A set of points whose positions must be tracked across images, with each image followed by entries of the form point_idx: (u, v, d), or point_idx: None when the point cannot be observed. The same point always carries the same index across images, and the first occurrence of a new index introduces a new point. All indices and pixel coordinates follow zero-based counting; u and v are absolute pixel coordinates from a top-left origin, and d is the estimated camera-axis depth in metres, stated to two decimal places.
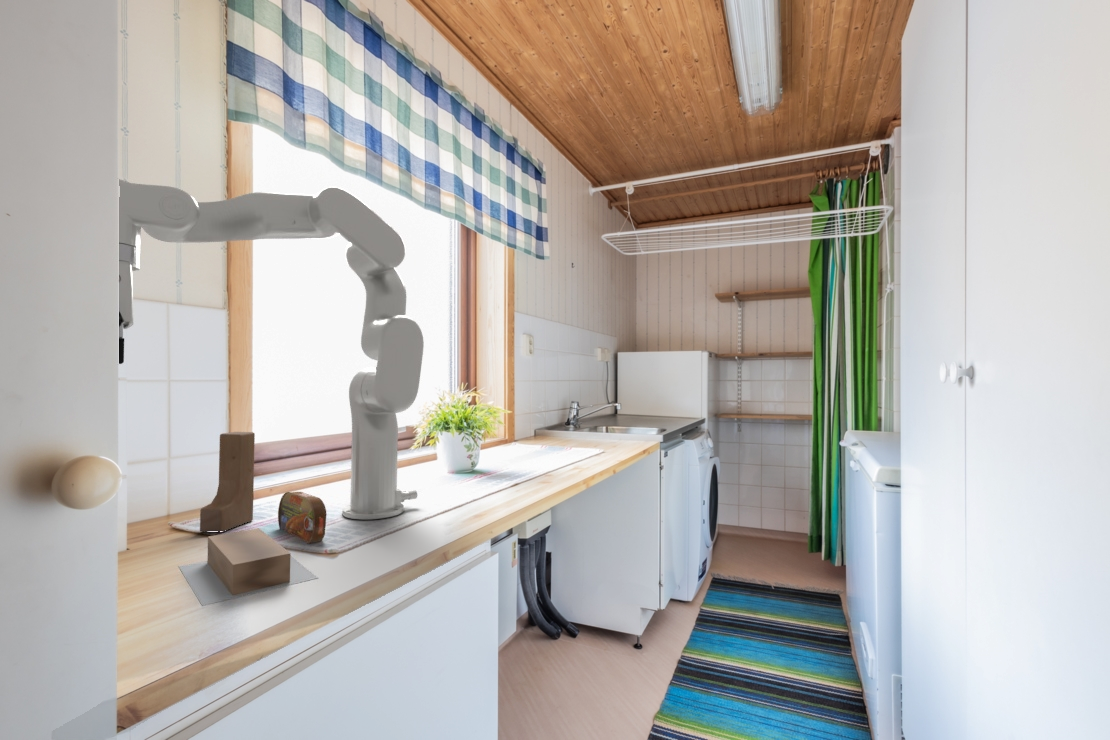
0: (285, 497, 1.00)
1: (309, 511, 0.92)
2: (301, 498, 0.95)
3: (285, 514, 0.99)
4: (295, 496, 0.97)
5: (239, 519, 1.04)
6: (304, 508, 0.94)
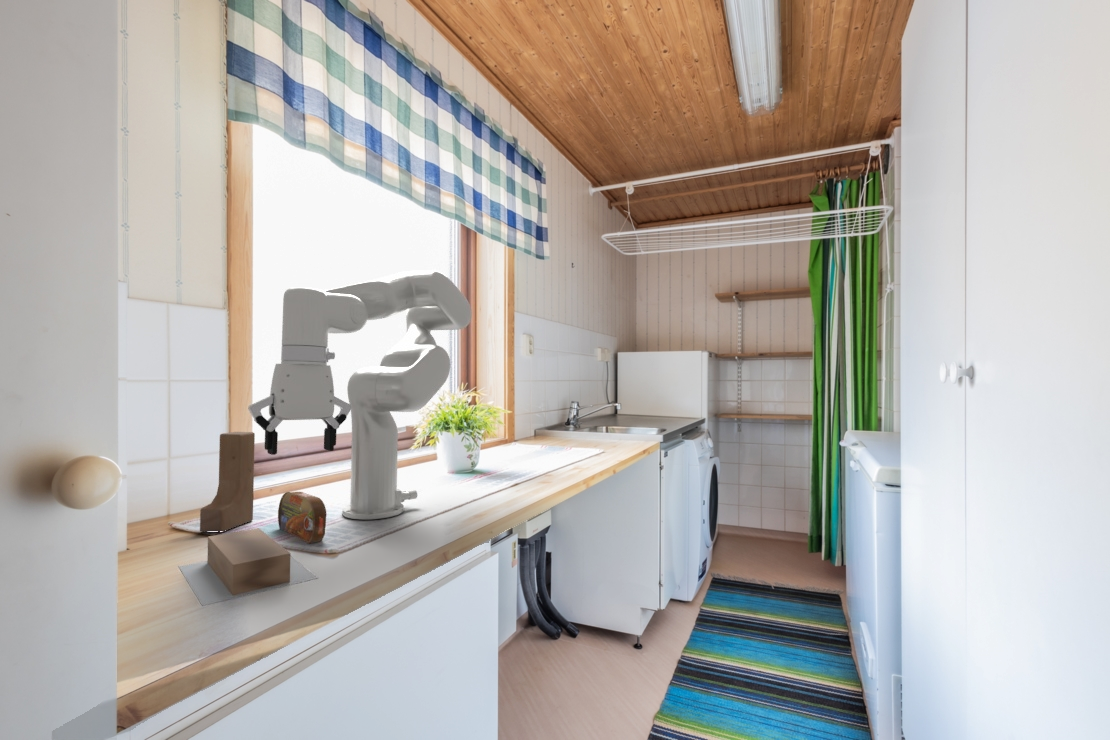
0: (285, 497, 1.00)
1: (309, 511, 0.92)
2: (301, 498, 0.95)
3: (285, 514, 0.99)
4: (295, 496, 0.97)
5: (239, 519, 1.04)
6: (304, 508, 0.94)
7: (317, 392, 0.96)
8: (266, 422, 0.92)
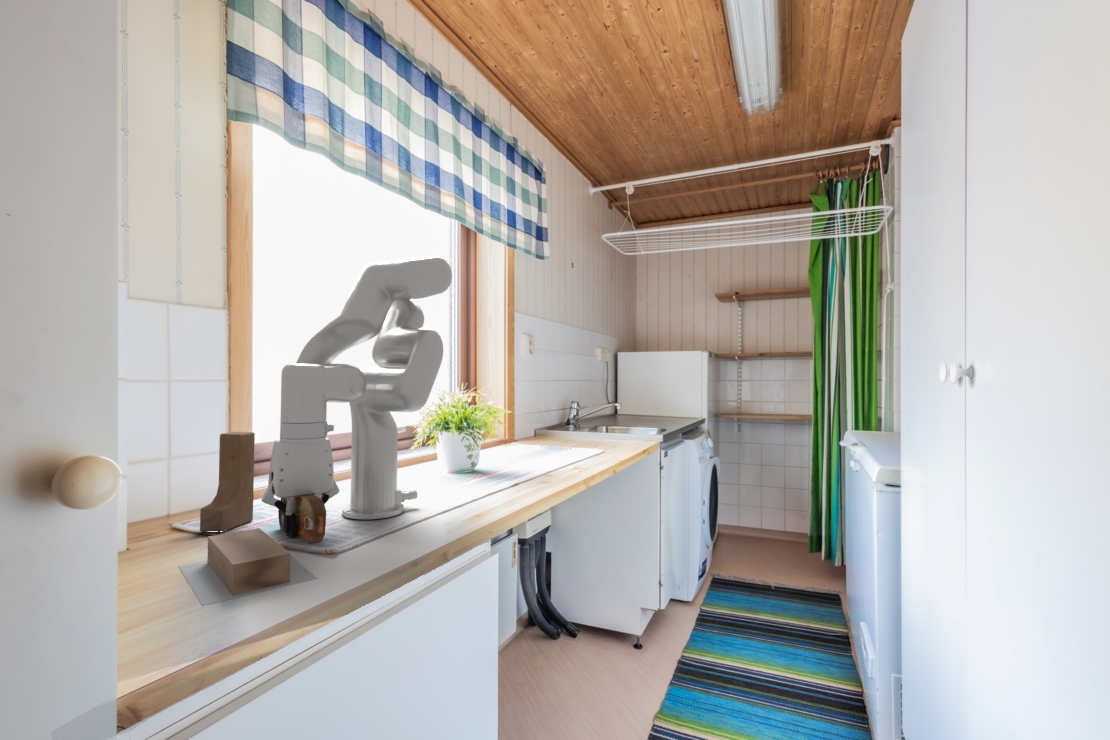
0: None
1: (309, 511, 0.92)
2: (300, 498, 0.95)
3: None
4: None
5: (239, 519, 1.04)
6: (304, 507, 0.94)
7: (316, 468, 0.96)
8: (282, 509, 0.93)
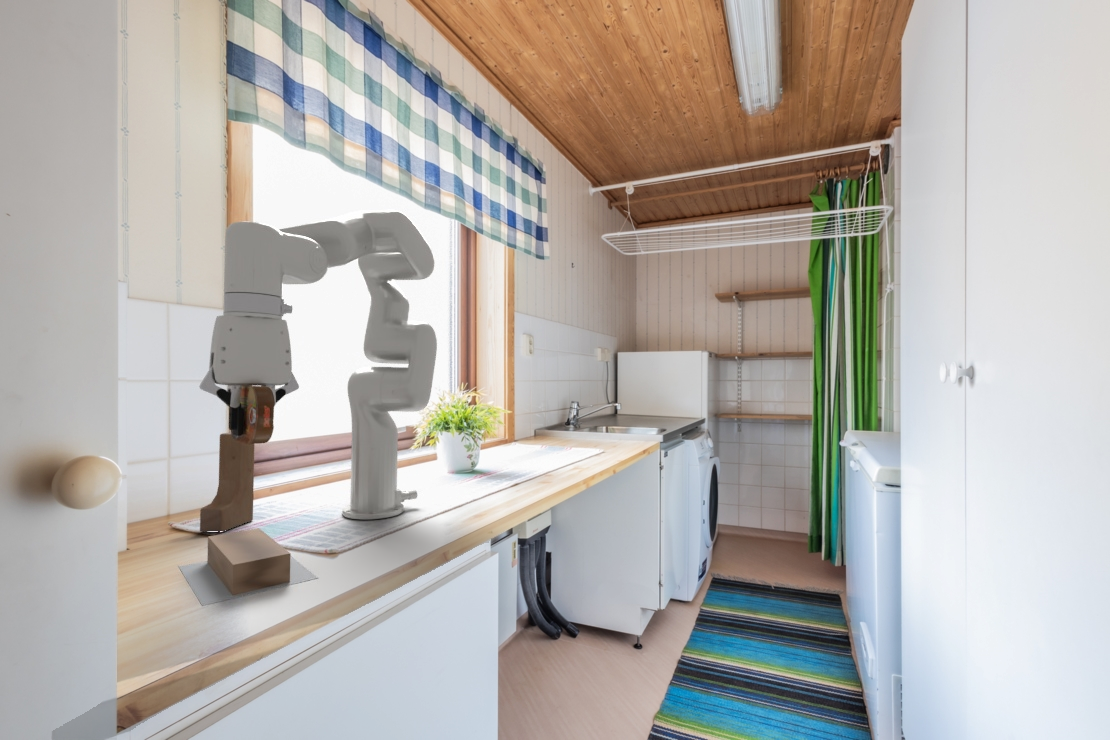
0: None
1: (254, 400, 0.74)
2: (248, 388, 0.77)
3: None
4: (243, 388, 0.79)
5: (239, 519, 1.04)
6: (250, 398, 0.76)
7: (269, 352, 0.78)
8: (226, 400, 0.76)
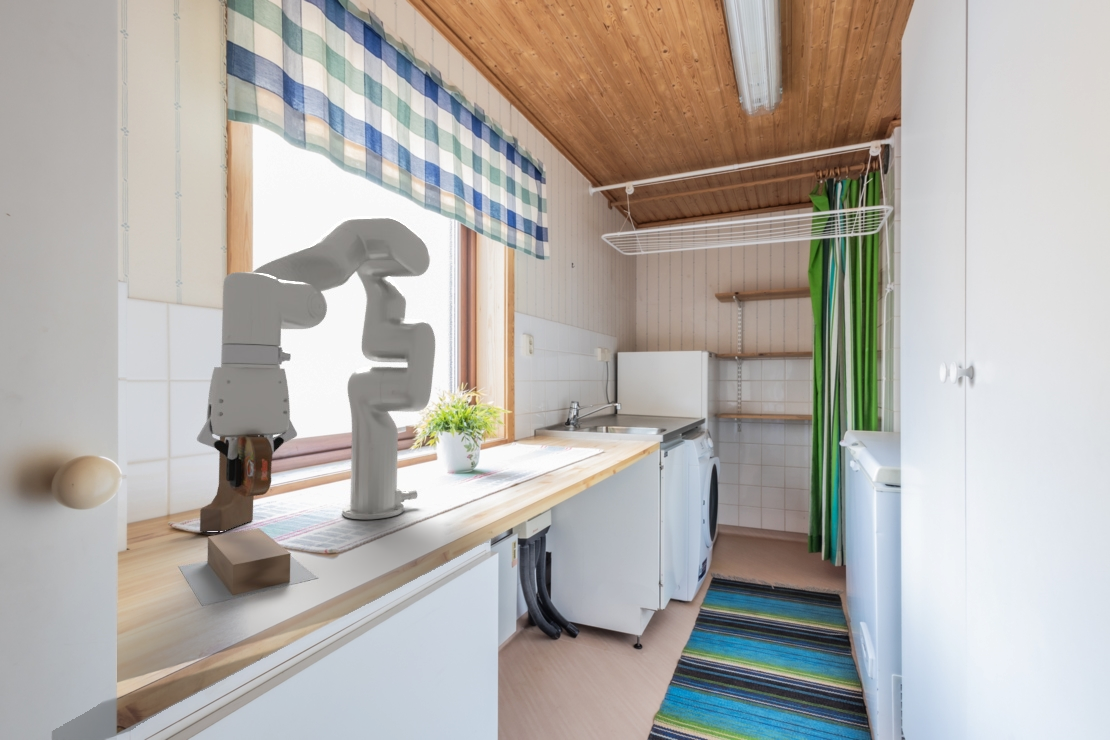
0: None
1: (252, 453, 0.74)
2: (245, 439, 0.77)
3: None
4: (241, 438, 0.79)
5: (239, 519, 1.04)
6: (247, 450, 0.75)
7: (267, 402, 0.77)
8: (223, 452, 0.75)
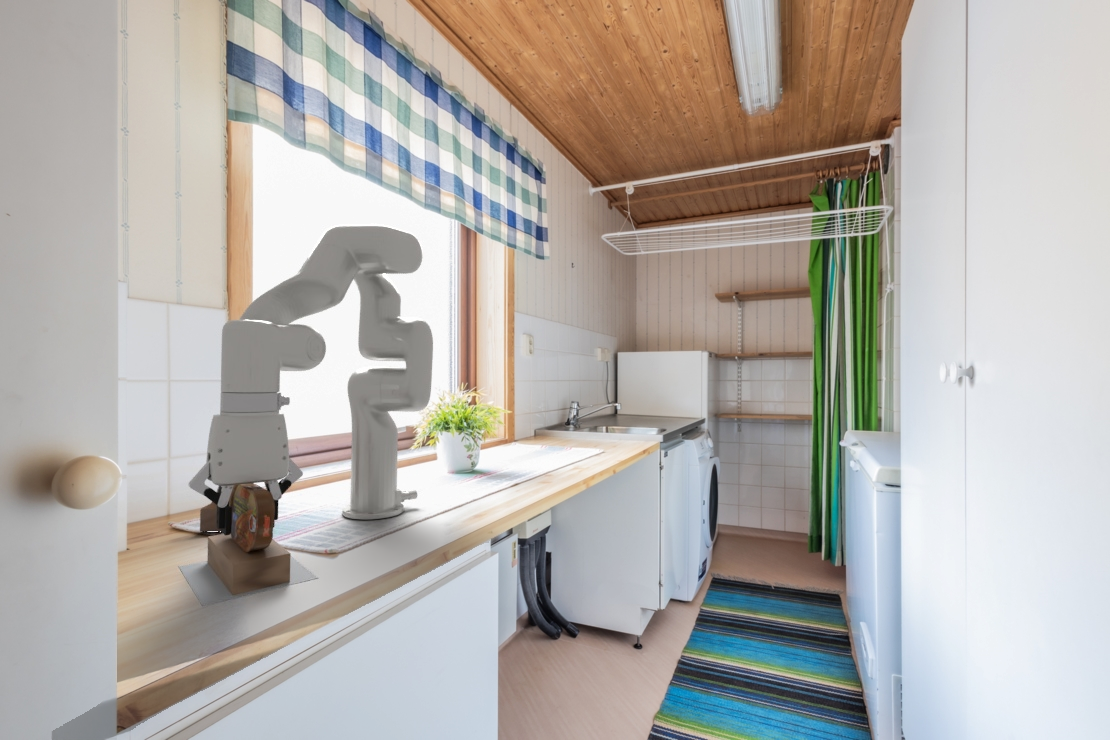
0: (237, 490, 0.82)
1: (255, 508, 0.74)
2: (249, 491, 0.77)
3: (236, 511, 0.81)
4: (244, 489, 0.79)
5: None
6: (250, 504, 0.76)
7: (266, 449, 0.77)
8: (214, 498, 0.74)
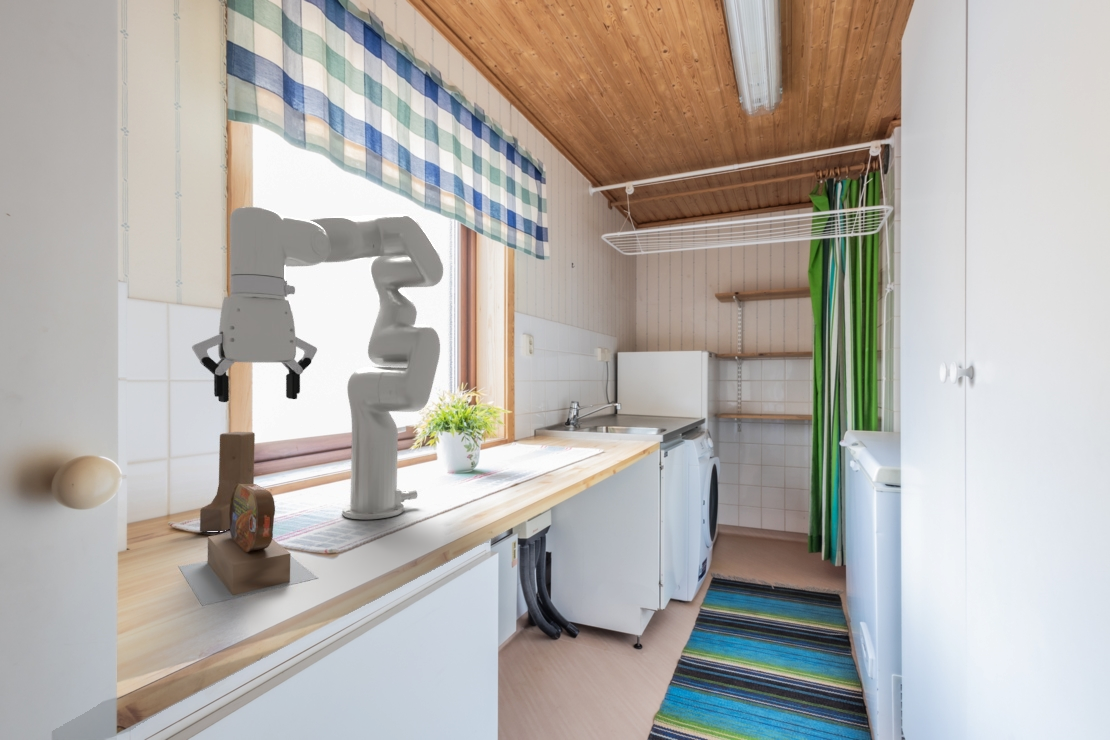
0: (237, 490, 0.82)
1: (254, 508, 0.74)
2: (249, 492, 0.77)
3: (235, 511, 0.81)
4: (244, 489, 0.79)
5: None
6: (250, 504, 0.76)
7: (274, 331, 0.83)
8: (214, 364, 0.79)
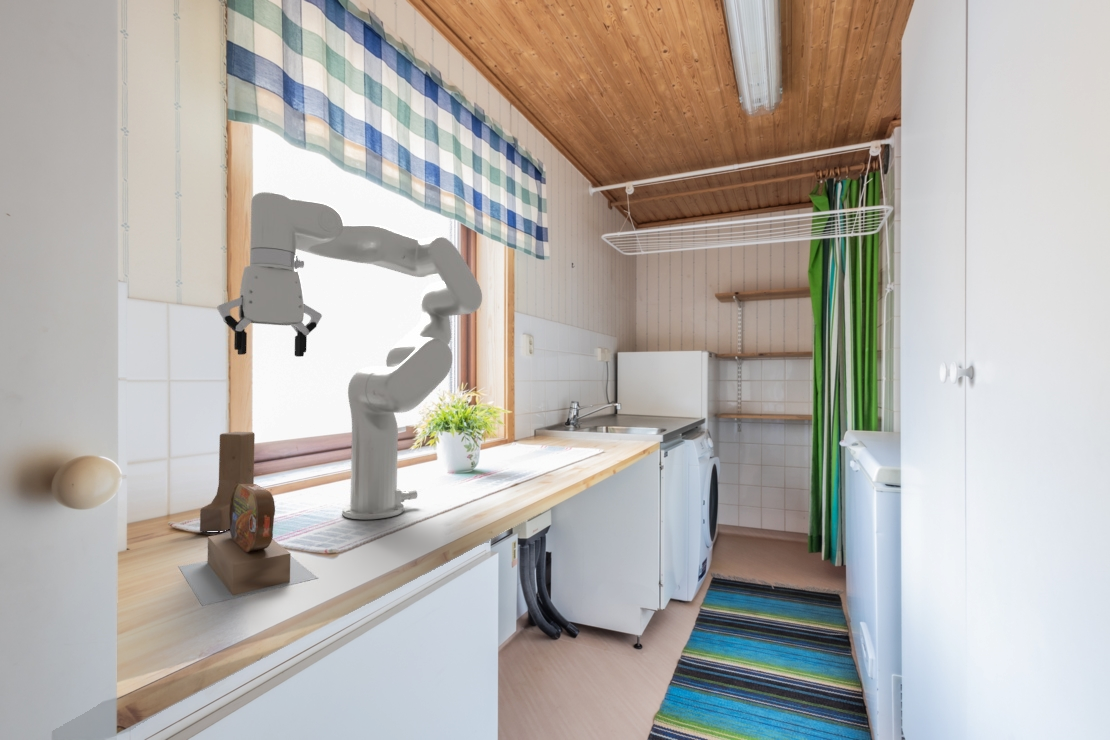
0: (237, 490, 0.82)
1: (254, 508, 0.74)
2: (249, 492, 0.77)
3: (235, 511, 0.81)
4: (244, 489, 0.79)
5: None
6: (250, 504, 0.76)
7: (286, 296, 0.98)
8: (235, 322, 0.94)
